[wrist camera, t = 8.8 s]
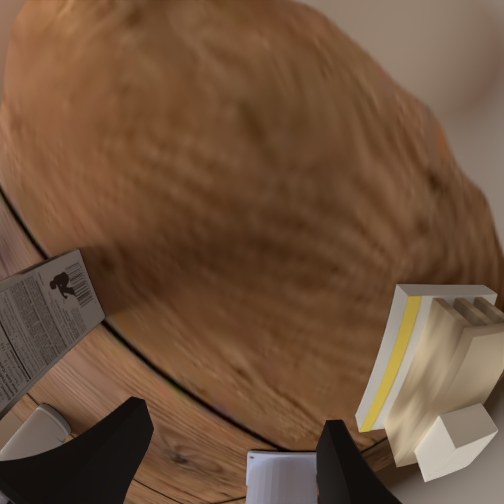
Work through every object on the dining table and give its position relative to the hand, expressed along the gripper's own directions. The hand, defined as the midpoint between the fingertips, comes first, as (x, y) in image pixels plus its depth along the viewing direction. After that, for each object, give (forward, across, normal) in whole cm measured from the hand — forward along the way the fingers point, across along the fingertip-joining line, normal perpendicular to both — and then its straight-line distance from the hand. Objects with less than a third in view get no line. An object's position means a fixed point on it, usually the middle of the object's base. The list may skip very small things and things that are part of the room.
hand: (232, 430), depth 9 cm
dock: (+9, -14, +4) cm, 17 cm away
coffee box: (+10, +17, 0) cm, 20 cm away
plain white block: (+2, -14, +5) cm, 15 cm away
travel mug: (+10, +29, +23) cm, 38 cm away
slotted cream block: (+7, -14, +3) cm, 16 cm away
